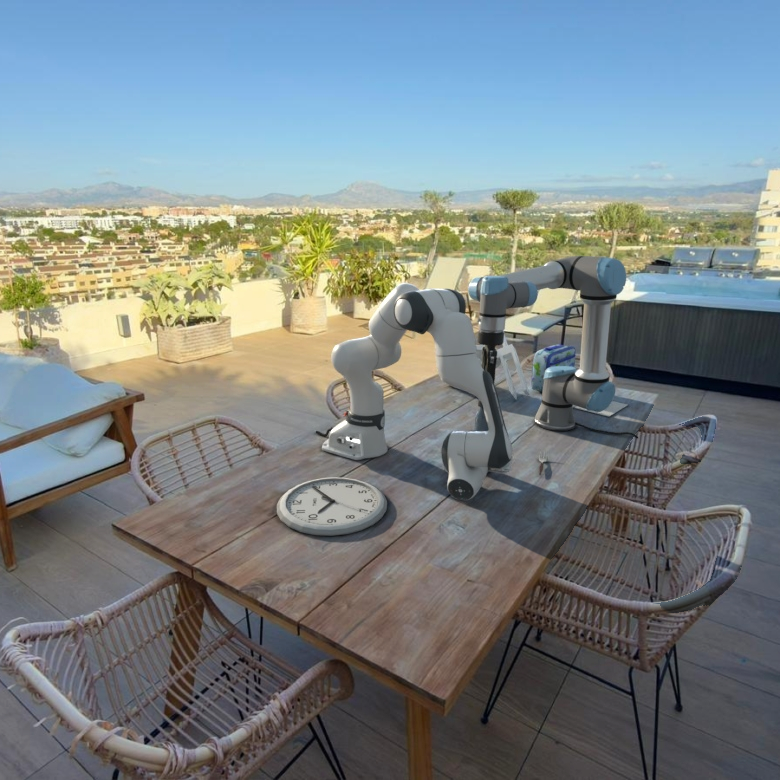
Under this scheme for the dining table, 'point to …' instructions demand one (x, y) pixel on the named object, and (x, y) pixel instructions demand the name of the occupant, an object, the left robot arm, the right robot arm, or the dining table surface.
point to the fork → (542, 461)
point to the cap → (479, 403)
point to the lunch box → (550, 362)
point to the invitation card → (608, 409)
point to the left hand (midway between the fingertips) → (482, 448)
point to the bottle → (481, 421)
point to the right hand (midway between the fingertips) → (485, 405)
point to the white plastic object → (502, 357)
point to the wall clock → (331, 506)
